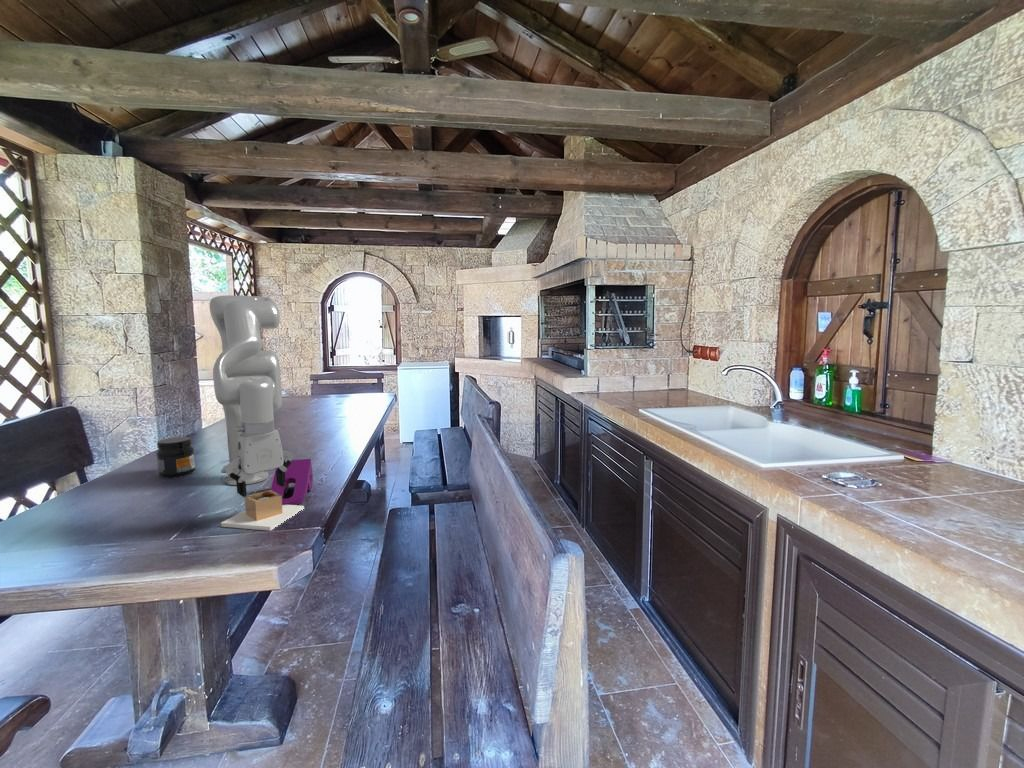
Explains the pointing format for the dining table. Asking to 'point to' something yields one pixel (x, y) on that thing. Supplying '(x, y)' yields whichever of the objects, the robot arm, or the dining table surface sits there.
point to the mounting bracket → (295, 481)
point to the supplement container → (175, 457)
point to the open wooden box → (263, 505)
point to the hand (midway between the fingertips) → (262, 490)
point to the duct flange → (264, 524)
